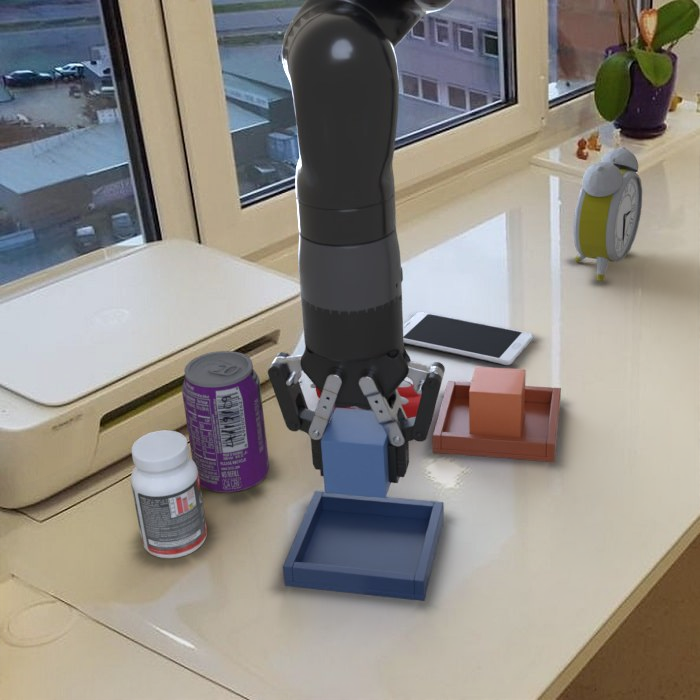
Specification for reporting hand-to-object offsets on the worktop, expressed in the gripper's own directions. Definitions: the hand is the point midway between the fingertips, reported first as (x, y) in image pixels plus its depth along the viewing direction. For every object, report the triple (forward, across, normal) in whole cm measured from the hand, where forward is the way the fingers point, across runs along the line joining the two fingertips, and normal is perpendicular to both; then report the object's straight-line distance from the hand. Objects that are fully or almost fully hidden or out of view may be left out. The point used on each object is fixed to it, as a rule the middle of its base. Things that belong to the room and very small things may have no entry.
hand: (361, 473), depth 87 cm
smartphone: (+8, +3, +39) cm, 40 cm away
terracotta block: (+7, +9, +21) cm, 24 cm away
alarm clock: (+8, +18, +62) cm, 65 cm away
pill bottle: (+8, -17, -1) cm, 19 cm away
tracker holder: (+8, -4, +23) cm, 25 cm away
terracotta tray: (+8, +9, +21) cm, 24 cm away
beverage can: (+8, -15, +9) cm, 19 cm away
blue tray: (+8, 0, 0) cm, 8 cm away
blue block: (0, 0, 0) cm, 0 cm away
